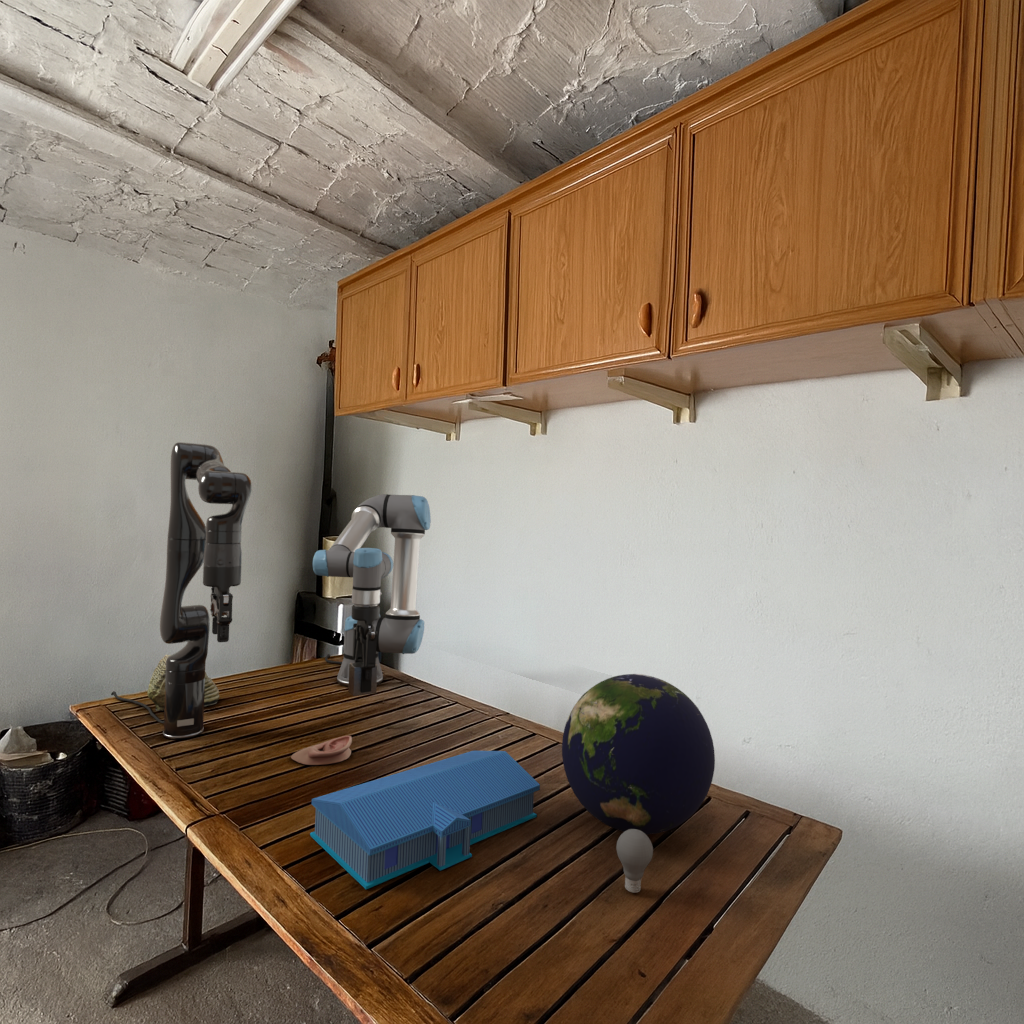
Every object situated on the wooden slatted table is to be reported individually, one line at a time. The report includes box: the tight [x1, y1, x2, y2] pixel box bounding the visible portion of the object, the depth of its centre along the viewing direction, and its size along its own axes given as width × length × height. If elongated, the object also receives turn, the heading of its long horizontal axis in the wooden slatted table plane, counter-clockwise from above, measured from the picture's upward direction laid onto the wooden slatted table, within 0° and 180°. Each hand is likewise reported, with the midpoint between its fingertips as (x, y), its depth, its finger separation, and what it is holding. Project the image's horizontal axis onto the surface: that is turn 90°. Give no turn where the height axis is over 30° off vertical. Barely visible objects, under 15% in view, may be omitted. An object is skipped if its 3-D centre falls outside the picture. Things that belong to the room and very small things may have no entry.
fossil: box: [147, 654, 221, 712], centre depth 185 cm, size 9×18×15 cm, turn 132°
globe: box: [561, 673, 716, 836], centre depth 127 cm, size 30×30×30 cm
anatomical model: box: [290, 735, 353, 766], centre depth 154 cm, size 13×4×12 cm
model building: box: [309, 750, 541, 890], centre depth 123 cm, size 39×24×10 cm, turn 132°
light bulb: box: [615, 829, 654, 894], centre depth 106 cm, size 6×6×10 cm
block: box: [347, 662, 378, 697], centre depth 174 cm, size 5×6×8 cm
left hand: (220, 637), depth 138 cm, fingers open, 8 cm apart
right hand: (362, 688), depth 174 cm, fingers closed on block, 5 cm apart
